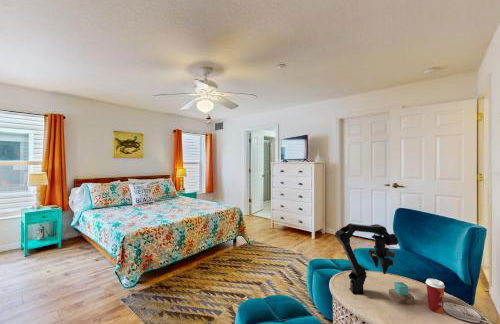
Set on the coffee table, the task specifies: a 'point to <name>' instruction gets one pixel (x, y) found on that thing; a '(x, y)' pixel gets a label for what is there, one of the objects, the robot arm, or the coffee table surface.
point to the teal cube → (401, 288)
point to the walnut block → (401, 297)
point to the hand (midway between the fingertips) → (380, 270)
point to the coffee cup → (435, 295)
